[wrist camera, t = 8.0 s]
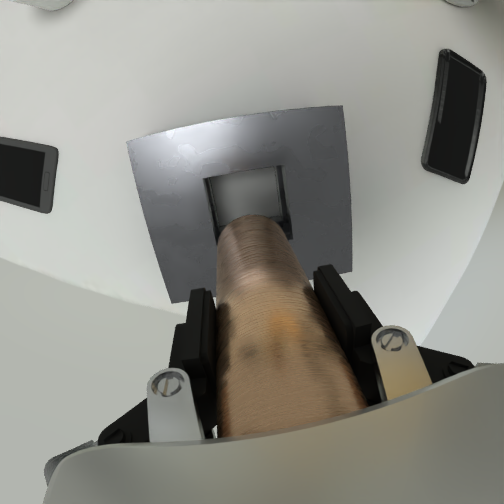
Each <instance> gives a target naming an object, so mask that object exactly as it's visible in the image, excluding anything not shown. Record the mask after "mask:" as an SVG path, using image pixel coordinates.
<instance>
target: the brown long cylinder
mask: <svg viewBox="0 0 504 504" xmlns="http://www.w3.org/2000/svg"><path fill="white" fill-rule="evenodd" d="M216 400H217V438H223V437H232V436H240V435H247V434H254V433H260V432H266V431H272V430H277V429H283V428H288V427H293V426H298V425H302V424H307V423H311V422H316V421H320V420H324V419H328V418H332V417H335V416H339V415H343V414H346V413H350V412H353V411H357V410H360V409H364V408H367V407H369V405H368V402H367V400H366V398H365V396H364V394H363V391H362V389H361V387H360V385H359V383H358V381H357V378H356V376H355V374H354V372H353V370H352V368H351V366H350V364H349V361H348V359H347V357H346V355H345V353H344V351H343V349H342V347H341V345H340V343H339V341H338V339H337V336H336V334H335V332H334V330H333V328H332V326H331V324H330V322H329V320H328V318H327V316H326V314H325V312H324V310H323V308H322V306H321V304H320V302H319V300H318V298H317V296H316V294H315V292H314V290H313V288H312V286H311V284H310V282H309V280H308V278H307V276H306V274H305V272H304V270H303V269H302V267H301V265H300V263H299V261H298V259H297V257H296V255H295V253H294V251H293V249H292V247H291V245H290V244H289V242H288V240H287V238H286V236H285V234H284V232H283V230H282V229H281V227H280V226H279V225H278V224H277V223H276V222H274V221H273V220H271V219H270V218H267V217H265V216H261V215H246V216H242V217H239V218H237V219H235V220H233V221H232V222H231V223H229V224H228V225H227V226H226V227H225V228H224V230H223V231H222V233H221V235H220V237H219V240H218V245H217V287H216Z"/></svg>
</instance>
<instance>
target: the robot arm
mask: <svg viewBox="0 0 504 504" xmlns="http://www.w3.org/2000/svg"><path fill="white" fill-rule="evenodd" d="M445 1H447V2H449V3H451V4H454V5H456V6H460V7H468V6H472V5H475V4H476V3H478V1H479V0H445ZM313 281H314V292H315V294H316V296H317V298H318V300H319V302H320V304H321V306H322V308H323V310H324V312H325V314H326V316H327V318H328V320H329V322H330V324H331V326H332V328H333V330H334V332H335V334H336V336H337V339H338V341H339V343H340V345H341V347H342V349H343V351H344V353H345V355H346V357H347V359H348V361H349V364H350V366H351V368H352V370H353V372H354V374H355V376H356V378H357V381H358V383H359V385H360V387H361V389H362V391H363V394H364V396H365V398H366V400H367V402H368V405H369V407H367V408H364V409H360V410H357V411H353V412H350V413H346V414H343V415H339V416H335V417H332V418H328V419H324V420H320V421H316V422H311V423H307V424H302V425H298V426H293V427H288V428H283V429H277V430H272V431H266V432H260V433H254V434H247V435H240V436H232V437H223V438H216V437H215V433H214V430H213V428H214V427H215V426H216V425H217V400H216V307H215V304H214V300H213V296H212V293H211V290H208V291H206V289H205V287H204V288H198V289H192V290H191V292H190V298H189V305H188V311H187V318H186V323H183V324H177V325H176V327H175V333H174V338H173V344H172V350H171V356H170V362H169V368H167V369H164V370H161V371H159V372H157V373H156V374H154V375H153V376H152V377H151V378H150V380H149V382H148V384H147V398H146V399H144V400H143V401H142V402H140V403H139V404H138V405H137V406H135V407H134V408H132V409H131V410H130V411H128V412H127V413H126V414H125V415H123V416H122V417H120V418H119V419H117V420H116V421H115V422H113V423H112V424H110V425H109V426H108V427H106V428H105V429H104V430H103V431H102V432H101V434H100V436H99V438H98V441H96V442H94V441H93V440H91V441H89V442H87V443H84V444H82V445H80V446H78V447H76V448H73V449H71V450H69V451H67V452H64V453H62V454H60V455H57V456H55V457H53V458H51V459H50V460H49V461H48V462H47V463H46V465H45V469H44V475H45V479H46V482H47V486H48V488H47V491H46V494H45V497H44V501H43V504H504V363H500V364H493V363H492V364H491V363H477V364H476V366H474V365H473V364H472V363H471V362H470V361H469V360H467V359H466V358H463V357H460V356H456V355H452V354H448V353H444V352H440V351H436V350H432V349H428V348H424V347H420V346H416V343H415V341H414V339H413V337H412V335H411V334H410V332H409V331H407V330H406V329H405V328H402V327H400V326H394V325H390V326H384V327H383V326H382V324H381V323H380V322H379V320H378V319H377V317H376V316H375V314H374V313H373V312H372V310H371V309H370V307H369V306H368V304H367V303H366V302H365V300H364V299H363V297H362V296H361V295H360V293H359V292H358V291H353V292H351V291H350V290H349V288H348V287H347V285H346V284H345V282H344V281H343V279H342V278H341V277H340V275H339V274H338V272H337V271H336V269H335V268H334V267H333V265H332V264H328V265H323V266H318V267H317V270H316V271H313Z"/></svg>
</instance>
